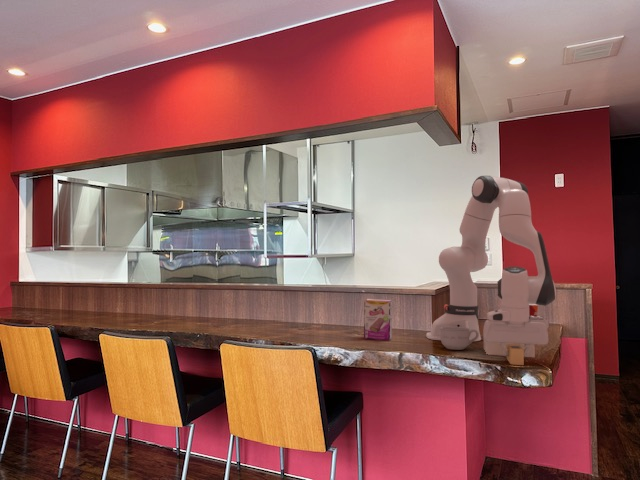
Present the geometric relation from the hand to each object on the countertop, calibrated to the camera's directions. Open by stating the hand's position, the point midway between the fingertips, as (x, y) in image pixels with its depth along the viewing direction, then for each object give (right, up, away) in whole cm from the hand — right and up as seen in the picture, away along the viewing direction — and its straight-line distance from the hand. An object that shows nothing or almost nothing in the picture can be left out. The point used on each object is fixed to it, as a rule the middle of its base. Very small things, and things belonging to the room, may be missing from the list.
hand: (514, 356), depth 151 cm
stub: (0, -2, 0) cm, 2 cm away
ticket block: (+3, -2, +13) cm, 14 cm away
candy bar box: (-41, -3, +37) cm, 55 cm away
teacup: (-13, -2, +19) cm, 23 cm away
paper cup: (+32, -4, +57) cm, 65 cm away
